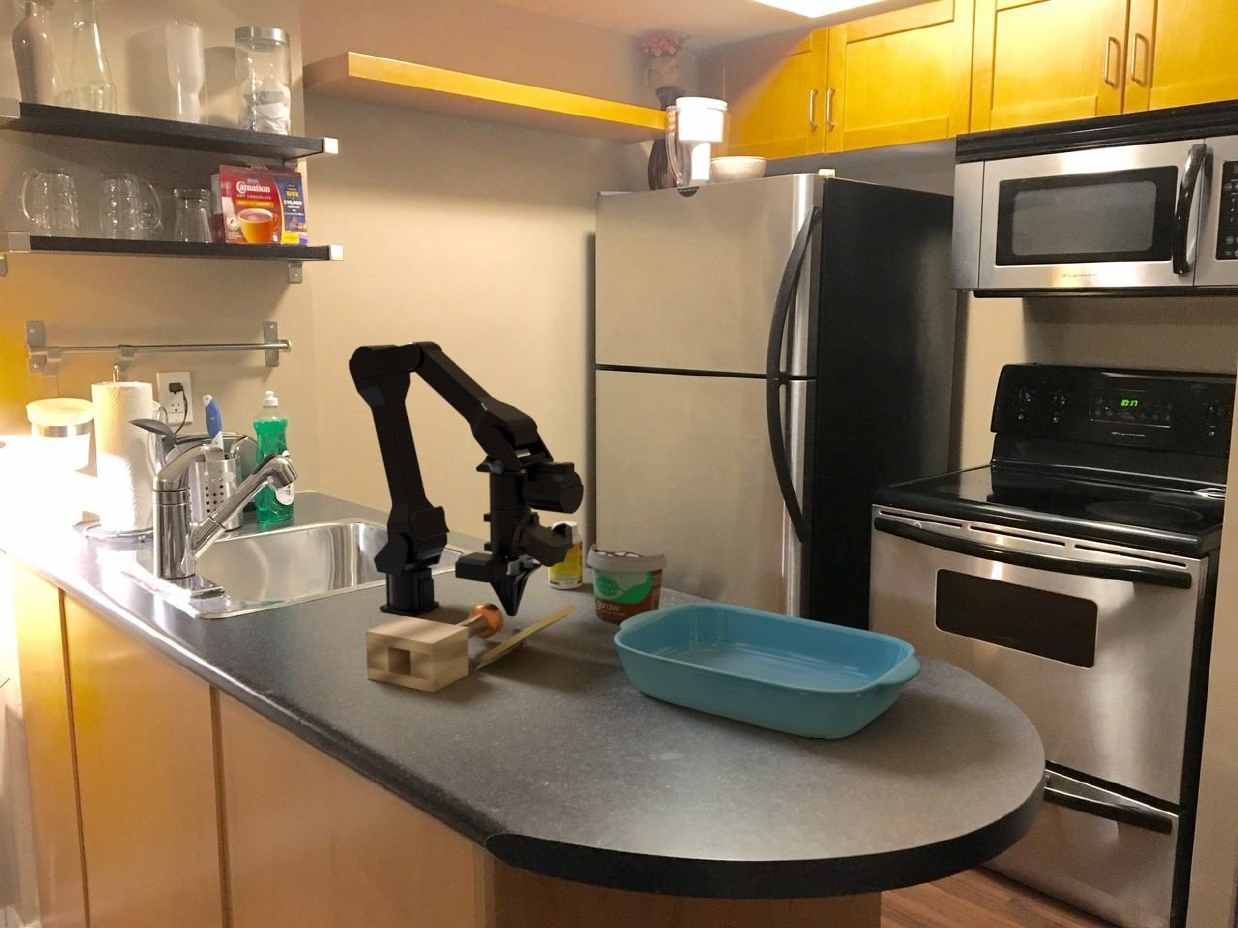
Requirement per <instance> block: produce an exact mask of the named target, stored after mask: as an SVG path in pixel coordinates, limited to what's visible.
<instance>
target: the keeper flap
mask: <svg viewBox="0 0 1238 928" xmlns="http://www.w3.org/2000/svg"><path fill="white" fill-rule="evenodd" d="M576 610H577V607H576V605H575V604H574V603H573V604H570V605H568V606H566V607H565V608H562V609H560V610H558V611H557V612H554V613H552V614H551V615H548V616H547V617H545V618H542V619H540V620H539V621H537V622H535V623H533V624H531V625H529V626H528V627H526V628H524V629H522V630H523V631H521V632H520V633H518V634H517V635H515V636H513V635H512V637H510V638H508V639H507V640H506V641H504V642H502V643H501V644H499V645H497V646H496V647H494V648H493V649H491V650H490V651H488V652H486V653H485V654H483V655H482V656H480V657H478V658H476V668H478V667H480V666H482V665H484V664H486V663H488V662H489V661H492V660H493V659H496V658H497V657H499V656H501V655H503V654H505V653H507V652H509V651H510V650H513V649H514V648H516V647H519V646H518V645H520V644H521V643H523V642H525V641H526V640H527V641H528V640H530V639H531V638H533V637H534V636H536V635H538V634H539V633H540V632H543V630H545V629H547V628H549V627H551V626H552V625H554V624H555V623H557V622H559V621H560V620H562V619H563V618H565V617H567V616H568V615H570V614H571V613H573V612H575V611H576Z"/></svg>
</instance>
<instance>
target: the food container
mask: <svg viewBox="0 0 1238 928" xmlns="http://www.w3.org/2000/svg"><path fill="white" fill-rule="evenodd" d="M586 563H587V565H588V566H590V567H591V572H592V585H593V593H594V606H595V615H596V618H597V619H599V620H601V621H602V622H606V623H609V624H615V625H620V624H621V623H622V622H623V621H625V620H626V619H628V618H631V617H633V616H635V615H638V614H641V613H644V612H648V611H653V610H659V608H660V607H659V606H660V595H661V587H662V580H663V579H662V578H663V569H665V568H667V567H668V564H667V558H666V556H665V552H661V553H657V554H654V555H647V556H646V555H642V554H638V553H636V552H632V551H626V550H625V551H608V550H599V549H597V546H596V543H594V544H592V545H591V546H590V549H589V550H588V554H587V560H586Z"/></svg>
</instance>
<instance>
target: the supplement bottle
mask: <svg viewBox="0 0 1238 928" xmlns="http://www.w3.org/2000/svg"><path fill="white" fill-rule="evenodd" d="M561 523H566V524H568V525H570V526H571V527H572V535H573V541H572V543H573V544H574V546H573V548H571V549H569V550H568V551H567V554H566V557H565V560H564V562H562V563H561V562H559V563H557V564H555V565H554V566H552V567H547V570H548V571H547V573H548V574H547V575H548V577H547V578H548V585H549V586H550V587H551V588H553V589H558V590H571V589H577V588H579V587H581V586H582V585H583V582H584V581H583V580H584V579H583V577H584V573H583V571H584V569H583V568H584V564H583V563H584V561H583V558H584V545H583V543H584V541H583V538H584V537H583V536H582V535H581V534H579V527H578V524H579V523H578V522H575V521H572V520H571V521H570V520H565V521H563V520H562V521H556V522H554V523H553V524H552V529H553V528H554V527H555V526H556V525H558V524H561Z"/></svg>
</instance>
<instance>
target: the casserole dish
mask: <svg viewBox="0 0 1238 928" xmlns="http://www.w3.org/2000/svg"><path fill="white" fill-rule="evenodd" d="M619 629H620V630H619V631H618V632H617V633H616V634H615V635H614V636H613V637H614V638H613V641H614V645H615V647H616V650H617V652H618V655H619V659H620V661H621V663H622V666H623V668H624V671H625V673H626V675H627V677H628V679H629V681H630V682H631V684H632V685H633V686H634V687H636V689H638V690H639V691H640V692H642V693H644V694H645V695H648V696H650V697H653V698H655V699H658V700H661V701H664V702H668V703H671V704H673V705H676V706H681V707H683V708H688V709H691V710H695V711H699V712H703V713H705V714H711V715H715V716H719V717H721V716H722V718H726V719H727V718H728V719H729V720H733V719H734V721H737V720H738V722H741V721H742V723H744V722H746V723H745V724H748V723H749V725H752V724H753V726H756V725H757V726H756V727H761V726H762V728H765V729H769V728H770V730H773V729H774V730H773V731H777V730H778V731H777V732H781V731H782V732H781V733H785V732H786V733H785V734H789V733H791V734H790V735H794V734H795V736H799V735H800V737H806V738H810V737H813V738H812V739H818V738H825V739H824V740H838V739H843V738H845V737H848V736H850V735H853V734H855V733H857V732H858V731H859V730H861V729H863V728H864V727H866V725H868V724H870V723H871V722H872V721H874V720H875V719H876V718H877V717H879V716H880V715H882V714H883V713H884V712H885V711H886V710H887V709H889V708H890V707H891V706H892V705H893V704H894V703H895V702H896V700H897V699H898V698H899V696H900V694H901V693H902V690H903V688H904V685H905V684H906V683H909V682H910V681H912V680H913V679H914V678H916V677H918V675H919V673H921V670H922V665H921V663H920V661H919V660H918V659H917V658H916V657H915V656H916V649H915V647H914V646H913V645H912V644H911V643H909V642H907V641H905V640H903V639H900V638H897V637H894V636H890V635H888V634H883V633H879V632H874V631H870V630H869V631H868V630H865V629H858V628H853V627H848V626H844V625H839V624H833V623H829V622H828V623H827V622H823V621H818V620H812V619H806V618H803V617H797V616H792V615H786V614H782V613H777V612H771V611H766V610H761V609H754V608H749V607H745V606H744V607H742V606H737V605H732V604H731V605H730V604H724V603H713V602H711V603H710V602H700V603H699V602H695V603H686V604H680V605H677V606H674V607H673V606H672V607H669V608H662V609H658V610H653V611H648V612H644V613H641V614H638V615H635V616H633V617H631V618H628V619H626V620H625V621H623V622H622V623H621V624H619ZM837 738H838V739H837Z"/></svg>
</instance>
